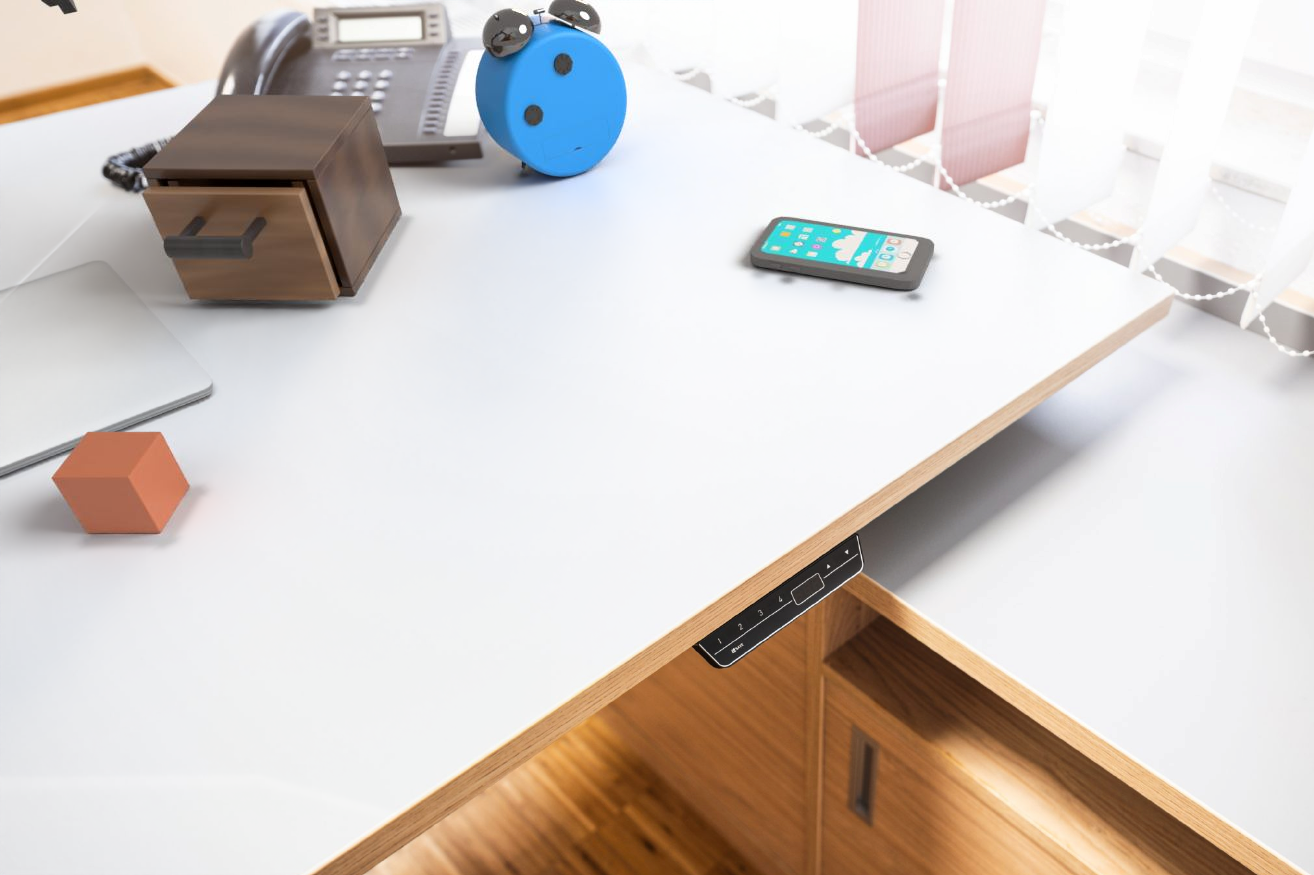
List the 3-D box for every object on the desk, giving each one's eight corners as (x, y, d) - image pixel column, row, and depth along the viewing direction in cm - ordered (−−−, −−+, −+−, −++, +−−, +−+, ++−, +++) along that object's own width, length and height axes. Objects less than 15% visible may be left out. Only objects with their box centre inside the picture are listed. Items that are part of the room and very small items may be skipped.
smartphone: (917, 282, 87) (745, 255, 89) (916, 293, 87) (745, 265, 90) (937, 236, 93) (776, 211, 95) (936, 246, 93) (776, 222, 96)
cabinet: (355, 296, 85) (313, 169, 78) (197, 295, 85) (140, 168, 77) (402, 213, 96) (369, 95, 88) (262, 212, 95) (217, 94, 88)
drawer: (315, 334, 79) (275, 226, 73) (162, 334, 79) (109, 225, 73) (383, 221, 93) (353, 121, 87) (252, 220, 92) (213, 120, 86)
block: (86, 533, 65) (50, 477, 61) (119, 486, 68) (87, 431, 65) (160, 533, 65) (128, 477, 62) (190, 486, 68) (161, 431, 65)
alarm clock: (603, 140, 108) (583, -19, 98) (637, 160, 105) (619, -2, 95) (489, 174, 102) (454, 8, 92) (521, 196, 99) (488, 27, 88)
